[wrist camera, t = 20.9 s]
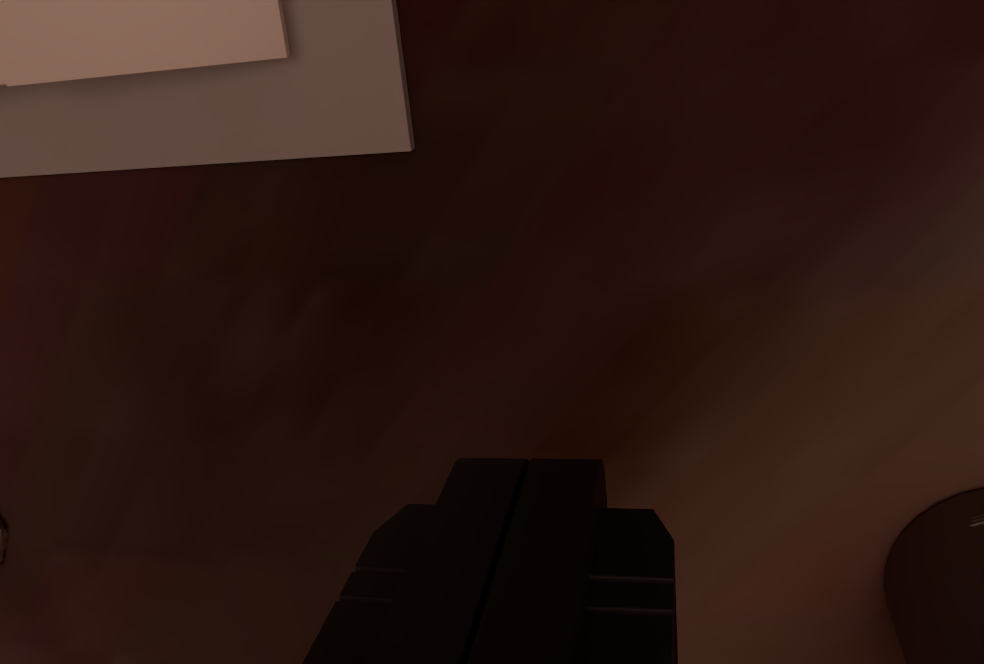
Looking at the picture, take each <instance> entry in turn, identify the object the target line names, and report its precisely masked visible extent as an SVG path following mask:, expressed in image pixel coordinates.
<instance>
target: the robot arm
mask: <svg viewBox="0 0 984 664" xmlns="http://www.w3.org/2000/svg"><path fill="white" fill-rule="evenodd" d="M884 589H885V594H886V598H887V603H888V607H889V610H890V613H891V617H892V620H893V623H894V626H895V629H896V633H897V636H898V639H899V642H900V646H901V649H902V652H903V655H904V659H905V662H906V664H984V489H982V490H977V491H973V492H969V493H965V494H961V495H959V496H956V497H954V498H952V499H949V500H947V501H945V502H942V503H940V504H938V505H936V506H935V507H933V508H932V509H930V510H929V511H927V512H926V513H924V514H923V515H921V516H920V517H918V518H917V519H916V520H915V521H914V522H913V523H912V524H911V525H910V526H909V527H908V528H907V529H906V530H905V531H904V532H903V533H902V535H901V536H900V538H899V540H898V541H897V543H896V544H895V546H894V547H893V549H892V551H891V554H890V557H889V560H888V563H887V566H886V569H885V584H884ZM302 664H678V652H677V620H676V588H675V555H674V540H673V538H672V537H671V535H670V534H669V532H668V531H667V529H666V528H665V526H664V525H663V523H662V522H661V520H660V519H659V517H658V516H657V514H656V513H655V511H654V510H653V509H619V508H607V497H606V481H605V470H604V464H603V461H602V459H531V461H530V462H529V460H528V459H497V458H459V459H458V460H457V461H456V462H455V464H454V466H453V468H452V470H451V473H450V475H449V477H448V479H447V481H446V484H445V486H444V488H443V490H442V492H441V494H440V497H439V499H438V501H437V503H436V505H424V504H408V505H406V506H405V507H404V508H403V509H401V510H400V511H399V512H398V513H397V514H395V515H394V516H393V517H392V518H390V519H389V520H388V521H387V522H385V523H384V524H383V525H382V526H381V527H379V528H378V529H377V530H376V531H374V532H373V534H372V536H371V538H370V540H369V542H368V543H367V545H366V547H365V549H364V551H363V553H362V554H361V556H360V558H359V560H358V562H357V564H356V570H355V573H354V572H352V573H351V575H350V577H349V578H348V580H347V582H346V584H345V586H344V588H343V589H342V591H341V593H340V601H339V602H337V601H336V602H335V604H334V606H333V608H332V610H331V612H330V613H329V615H328V617H327V619H326V621H325V623H324V625H323V626H322V628H321V630H320V632H319V634H318V636H317V637H316V639H315V641H314V643H313V645H312V647H311V648H310V650H309V652H308V654H307V656H306V658H305V660H304V661H303V663H302Z"/></svg>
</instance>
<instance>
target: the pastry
mask: <svg viewBox="0 0 984 664" xmlns="http://www.w3.org/2000/svg"><path fill="white" fill-rule="evenodd" d="M7 538H8V532H7V530H6V529H5V528H4V526H3V524H2V522H1V520H0V562H1V561H2V560H3V559H4V558H3V550H4V549H5V548H6V547H7Z"/></svg>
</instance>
